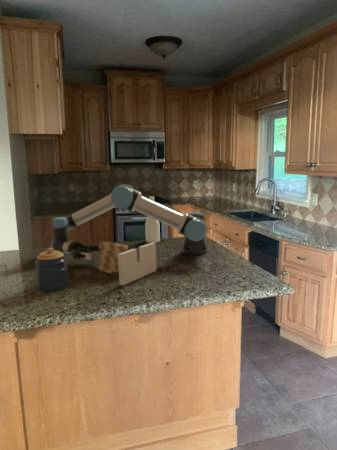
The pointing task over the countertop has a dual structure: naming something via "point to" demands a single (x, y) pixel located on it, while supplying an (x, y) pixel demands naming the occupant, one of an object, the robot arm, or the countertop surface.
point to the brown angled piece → (110, 256)
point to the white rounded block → (152, 228)
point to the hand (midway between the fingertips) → (100, 253)
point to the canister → (51, 271)
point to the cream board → (136, 263)
